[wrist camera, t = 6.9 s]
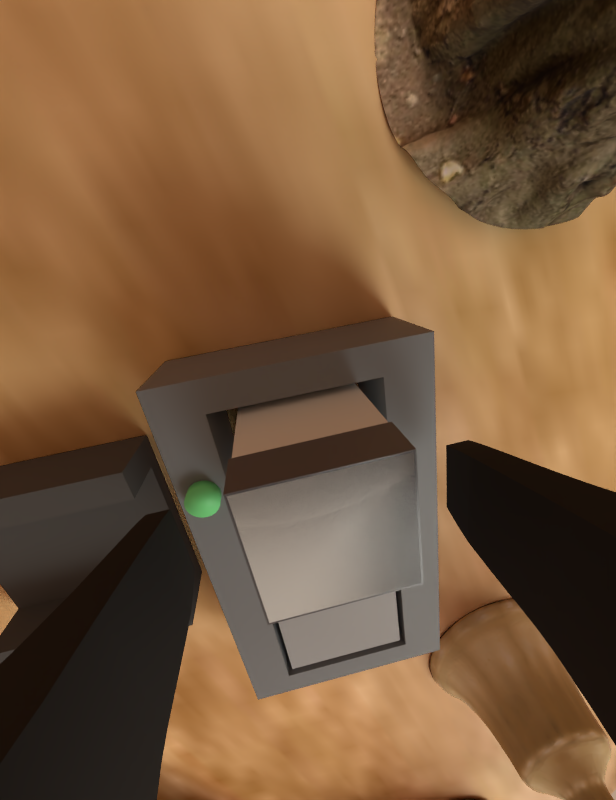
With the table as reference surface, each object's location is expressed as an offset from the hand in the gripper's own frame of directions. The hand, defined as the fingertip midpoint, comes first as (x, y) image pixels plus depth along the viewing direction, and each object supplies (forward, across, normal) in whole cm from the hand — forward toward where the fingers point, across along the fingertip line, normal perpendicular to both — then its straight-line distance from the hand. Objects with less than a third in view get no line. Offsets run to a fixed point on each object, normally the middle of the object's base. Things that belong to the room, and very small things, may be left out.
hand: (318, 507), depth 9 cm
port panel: (+5, 0, +3) cm, 6 cm away
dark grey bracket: (+5, +9, +2) cm, 10 cm away
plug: (+5, 0, -1) cm, 5 cm away
